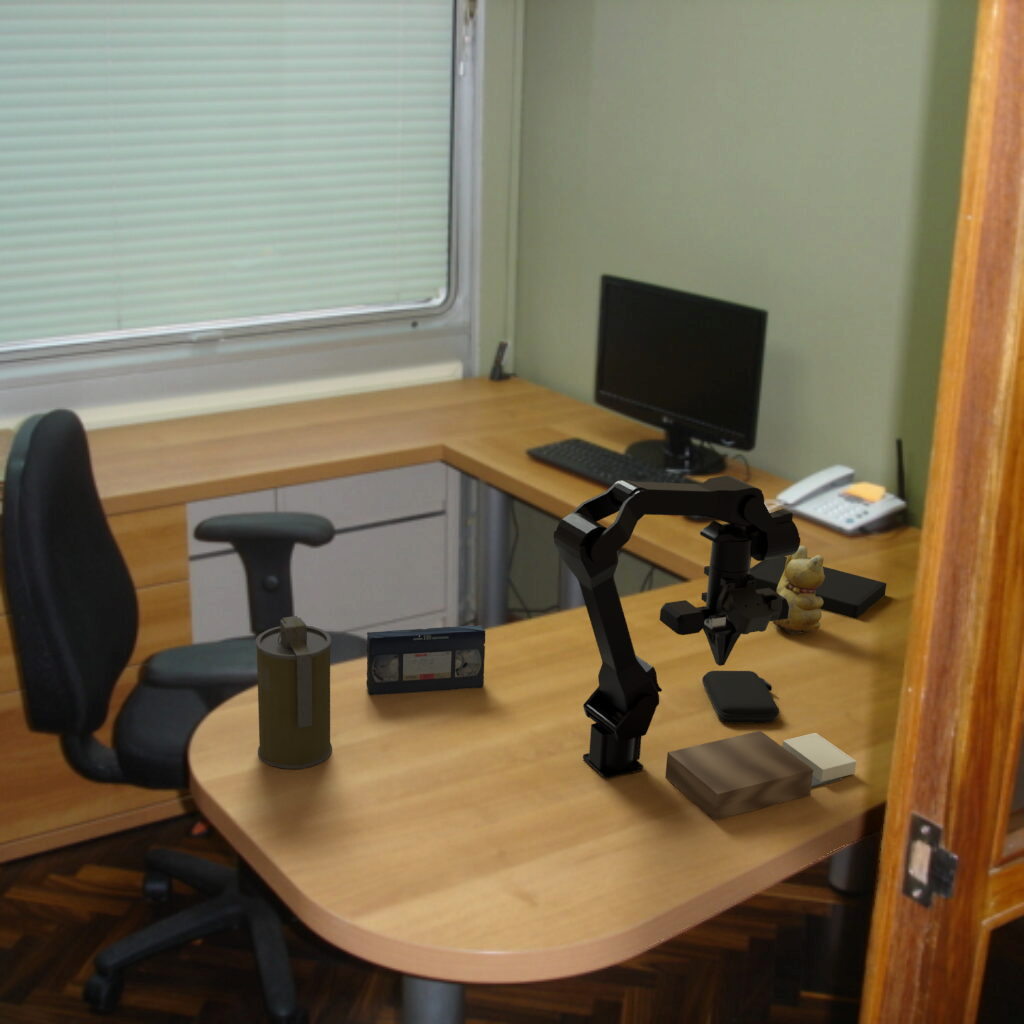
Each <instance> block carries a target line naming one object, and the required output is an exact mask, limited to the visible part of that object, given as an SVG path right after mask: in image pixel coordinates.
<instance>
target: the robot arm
mask: <svg viewBox="0 0 1024 1024" xmlns="http://www.w3.org/2000/svg"><path fill="white" fill-rule="evenodd" d="M617 513H618V514H617ZM614 514H617V515H616V517H615V520H614V521H613V522H612V523H611V524H610V525H609V526H608V527H607V526H604V525H602V524H600V523H599V521H601V520H603V519H606V518H607V517H609V516H612V515H614ZM645 515H649V516H650V515H651V516H687V517H688V516H691V517H701V516H702V517H708V518H711V519H715V520H711V522H710V523H709V524H708V525H707V526H705V527H703V529H701V530H700V532H699V535H700V536H701V537H703V538H704V539H707V540H709V541H710V542H711V550H710V559H709V560H710V561H709V565H708V566H707V565H706V566H703V567H704V569H703V574H704V575H706V576H708V580H707V590H706V591H705V592H702V593H701V600H702V601H703V602H704V603H705V606H698V607H697V606H694V605H693V604H692V603H690V602H689V601H688V600H687V599H684V600H676V601H670V602H669V601H668V602H665V603H664V604H663V605H662V606H661V608H660V611H659V612H660V613H659V621H660V622H662V623H663V624H664V625H665V626H667V628H669V629H670V630H671V631H673V632H674V633H675V634H677V635H679V636H688V635H693V634H699V633H700V632H701V631H702V630H703V632H704V635H705V636H706V639H707V641H708V644H709V647H710V650H711V652H712V653H711V654H712V655H713V656H712V657H713V659H714V662H715V664H716V665H718V667H720V666H725V664H726V663H727V661H728V659H729V656H730V654H731V653H732V651H733V649H734V646H735V645H736V643H737V641H738V639H739V638H740V637H741V635H749V634H751V633H756V632H759V633H763V632H765V631H766V630H767V628H768V625H769V624H770V622H773V621H776V620H782V619H788V617H789V610H790V605H789V603H788V601H787V599H786V598H784V597H782V596H781V595H779V594H778V593H776V592H775V591H773V590H772V589H770V588H765V589H758V590H756V589H755V577H754V576H753V575H751V574H750V568H751V566H752V558H753V559H754V561H758V562H761V561H764V560H769V559H774V558H779V557H784V556H785V557H787V556H789V555H793V554H795V553H796V552H797V551H798V548H799V547H800V546H801V537H800V534H799V533H800V532H799V529H798V527H797V525H796V524H795V522H794V520H793V518H794V513H793V512H790V511H789V510H787V509H785V508H784V509H783V508H782V509H777V510H774V511H772V512H770V511H769V509H768V508H767V506H766V505H765V496H764V493H763V491H762V489H760V488H758V487H756V486H755V485H752V484H749V483H747V482H745V481H743V480H741V479H739V478H737V477H734V476H731V475H722V476H716V477H710V478H708V479H706V480H705V481H703V482H699V483H683V482H682V483H678V482H677V483H675V482H654V481H653V482H650V481H649V482H648V481H632V480H629V479H621V480H617V481H615V482H614V483H613V484H612V485H611V486H610V487H609V488H608V489H607V490H606V491H604V492H602V493H600V494H597V495H596V496H593V497H591V498H589V499H587V500H585V501H583V502H581V503H580V504H579V505H578V506H577V507H576V508H575V509H574V510H572V512H571V513H569V514H568V515H566V516H564V517H563V518H562V519H561V521H559V523H558V525H557V527H556V529H555V530H554V531H553V542H554V545H555V547H556V550H557V551H558V552H559V555H560V557H561V559H562V560H563V562H564V563H565V565H566V566H567V567H568V569H569V570H570V571H571V573H572V574H573V575H574V577H575V578H576V580H577V582H578V583H579V588H580V591H581V594H582V598H583V600H584V604H585V608H586V610H587V614H588V619H589V621H590V625H591V628H592V631H593V634H594V638H595V642H596V645H597V647H598V652H599V655H600V659H601V666H600V669H599V671H598V676H597V677H598V678H597V679H598V687H597V688H596V689H595V690H594V691H593V693H592V694H591V695H590V696H589V697H588V698H587V699H586V701H585V702H584V703H583V705H582V707H583V711H584V714H585V716H586V717H587V718H589V719H590V720H592V721H593V722H595V723H591V724H590V738H589V751H588V752H587V753H584V754H583V756H582V759H583V760H584V761H585V762H586V763H587V764H588V765H589V766H591V767H592V768H593V769H594V770H595V771H596V772H597V773H598V774H599V775H600V776H601V777H602V778H604V779H610V778H614V777H618V776H623V775H626V774H631V773H635V772H639V771H643V769H644V765H643V764H642V763H641V762H640V761H639V760H640V758H641V751H642V750H641V749H642V748H641V747H642V738H643V737H644V736H646V735H647V733H648V731H649V728H650V725H651V723H652V720H653V718H654V715H655V712H656V710H657V707H658V706H659V705H660V694H659V693H662V691H663V689H662V688H661V687H660V685H659V684H658V678H657V677H658V676H657V671H656V668H655V667H654V666H653V665H651V664H649V663H648V662H647V661H645V660H644V659H642V658H640V657H639V656H638V655H637V654H636V652H635V648H634V644H633V642H632V637H631V634H630V630H629V627H628V623H627V619H626V617H625V613H624V612H625V611H624V609H623V606H622V602H621V598H620V594H619V590H618V587H617V585H616V581H615V573H616V570H617V567H618V564H619V552H618V551H620V550H621V548H623V547H624V546H625V545H626V544H627V543H628V542H629V541H630V539H631V537H632V535H633V533H634V531H635V528H636V526H637V523H638V522H639V521H640V519H642V518H643V517H644V516H645ZM716 520H719V521H721V522H724V523H720V522H718V521H716Z"/></svg>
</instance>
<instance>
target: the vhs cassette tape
mask: <svg viewBox="0 0 1024 1024" xmlns="http://www.w3.org/2000/svg"><path fill="white" fill-rule="evenodd" d="M366 635H367V636H366V637H367V638H366V642H367V645H366V647H367V648H366V681H365V683H366V690H367V694H368V695H369V696H381V695H382V696H385V695H395V694H397V695H399V694H410V693H411V694H413V693H415V694H416V693H423V692H424V693H425V692H426V693H427V692H443V691H456V690H468V689H470V690H471V689H482V688H484V686H485V685H484V683H485V655H486V653H485V652H486V646H485V645H486V630H485V627H484V626H483V624H479V625H459V626H443V627H442V626H441V627H430V628H414V629H400V630H399V629H395V630H386V631H385V630H384V631H371V632H370V631H368V632H367V633H366Z"/></svg>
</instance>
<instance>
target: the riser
mask: <svg viewBox="0 0 1024 1024" xmlns="http://www.w3.org/2000/svg"><path fill="white" fill-rule="evenodd" d="M812 777H813V769H812V768H810V767H809V766H808V765H806V764H805V763H804V762H802V761H801V760H800V759H798V758H797V757H796V756H794V755H793V754H791V753H790V752H789V751H787V750H786V749H785V748H783V747H782V745H780V744H779V743H778V742H776V741H775V740H774V739H773V738H771V737H770V736H768V735H767V734H766V733H764V732H763V731H762V730H757V731H753V732H752V731H751V732H749V733H744V734H739V735H736V736H731V737H727V738H723V739H718V740H715V741H709V742H706V743H701V744H698V745H697V744H696V745H692V746H688V747H685V748H684V747H683V748H679V749H675V750H672V751H668V752H667V756H666V767H665V778H666V780H668V781H669V782H670V783H671V784H672V785H674V787H676V789H678V790H679V791H680V792H682V794H684V795H685V796H686V797H687V798H688V799H689V800H690V801H692V802H693V803H694V804H695V805H697V807H699V808H700V809H701V810H703V812H704V813H705V814H707V815H708V816H709V817H710V818H711V819H712V820H714V821H717V820H721V819H726V818H729V817H733V816H737V815H740V814H744V813H747V812H752V811H756V810H759V809H762V808H766V807H767V808H768V807H771V806H774V805H778V804H782V803H786V802H789V801H793V800H796V799H800V798H804V797H808V796H809V797H810V796H811V792H812V788H811V784H812Z"/></svg>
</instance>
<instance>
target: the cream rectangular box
mask: <svg viewBox="0 0 1024 1024" xmlns="http://www.w3.org/2000/svg"><path fill="white" fill-rule="evenodd" d="M781 746H782V747H783V748H785V749H786V750H787V751H789V752H790V753H791V754H793V755H794V756H796V757H797V758H798V759H800V760H801V761H802V762H804V763H805V764H806V765H808V766H809V767H810V768H812V769H813V776H814V777H815V778H816V779H818V780H819V781H820V782H824V781H828V780H832V779H835V778H839V777H841V778H842V777H846V776H850V775H854V774H855V772H856V766H857V765H856V764H857V760H855V759H854V758H853V757H852V756H850V755H848V754H847V753H845V752H844V751H843V750H841V749H840V748H838V747H837V746H835V744H832V743H831V742H830V741H828V740H827V739H825V737H823V736H821V735H819V733H817V732H813V733H808V734H804V735H801V736H796V737H792V738H787V739H783V740H782V745H781Z"/></svg>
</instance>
